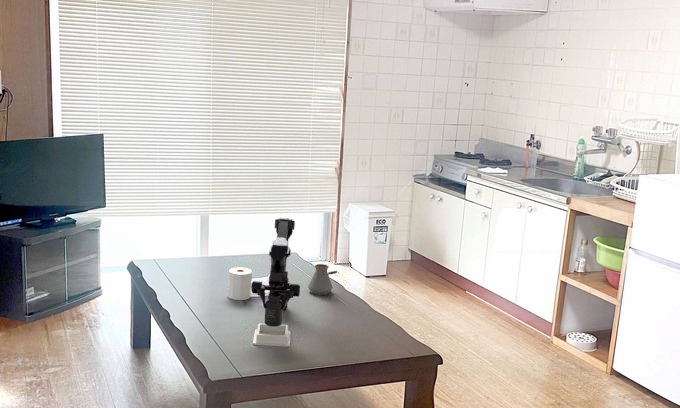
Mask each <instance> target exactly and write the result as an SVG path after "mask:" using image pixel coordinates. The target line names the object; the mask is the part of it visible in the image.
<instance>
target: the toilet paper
mask: <svg viewBox="0 0 680 408" xmlns="http://www.w3.org/2000/svg"><path fill="white" fill-rule="evenodd" d="M252 279H253V270H252V269H249V268H247V267H232V268H230V269H229V270H228V286H227V288H228V289H227V298H229V299H231V300H234V301H246V300H249V299H251V297H252V296H251V294H252V290H251V285H252Z"/></svg>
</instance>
